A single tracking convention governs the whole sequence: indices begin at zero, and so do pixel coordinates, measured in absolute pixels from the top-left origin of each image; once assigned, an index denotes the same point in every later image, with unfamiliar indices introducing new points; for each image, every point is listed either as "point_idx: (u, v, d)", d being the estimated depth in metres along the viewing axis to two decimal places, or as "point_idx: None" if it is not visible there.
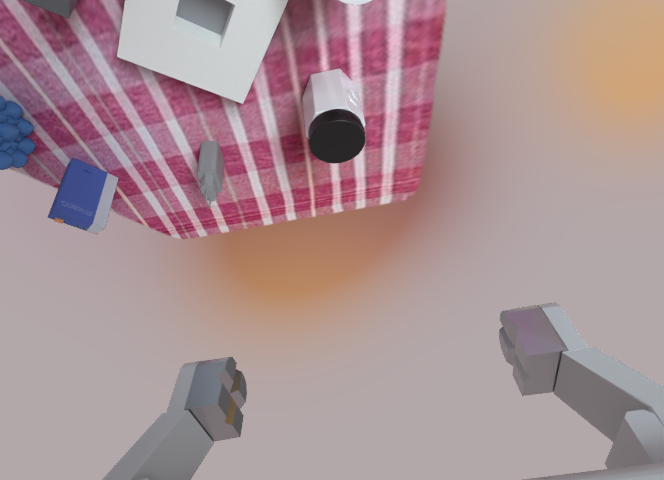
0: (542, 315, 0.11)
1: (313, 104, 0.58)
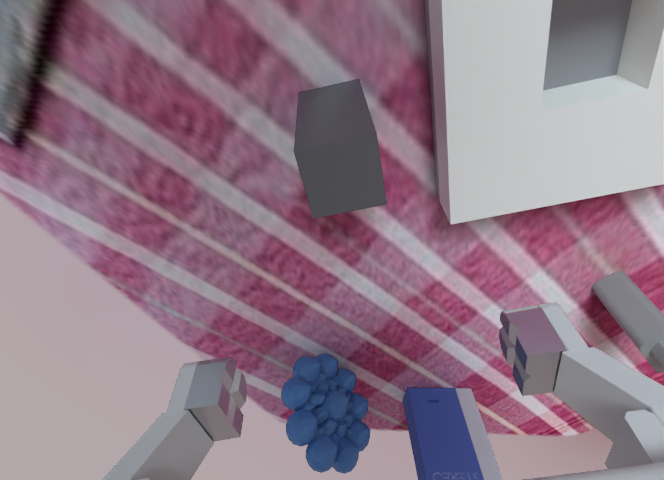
0: (542, 315, 0.11)
1: None
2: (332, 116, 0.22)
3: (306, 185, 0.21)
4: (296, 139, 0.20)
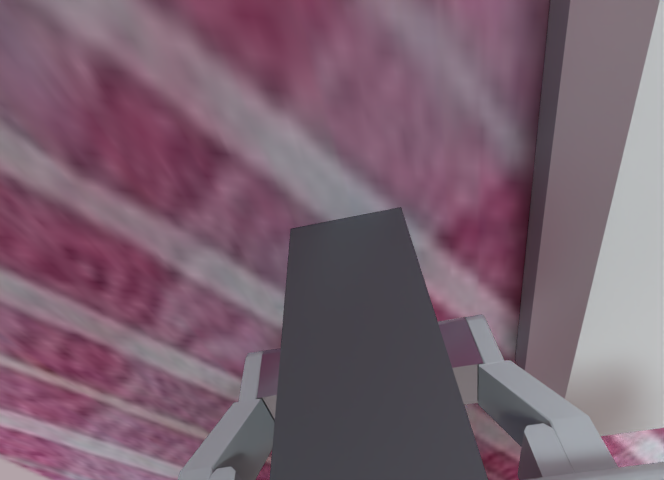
0: (466, 327, 0.11)
1: None
2: (358, 343, 0.10)
3: None
4: (277, 437, 0.08)
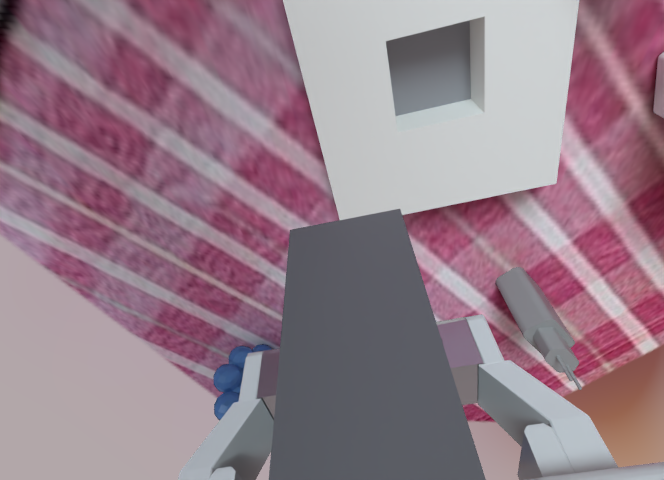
0: (466, 327, 0.11)
1: None
2: (357, 344, 0.10)
3: None
4: (276, 439, 0.09)
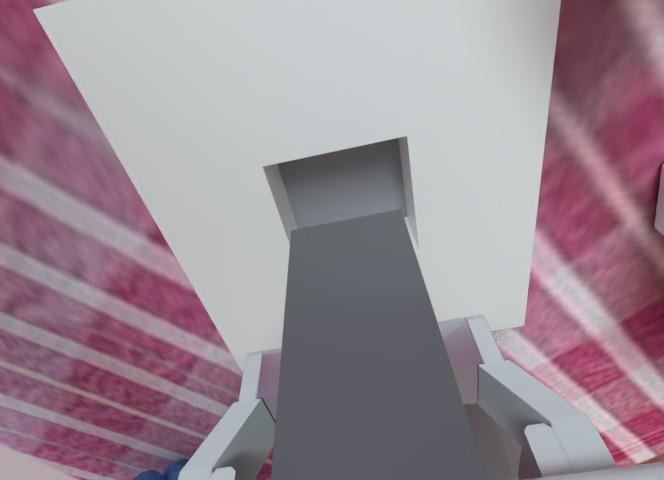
0: (466, 327, 0.11)
1: None
2: (359, 344, 0.10)
3: None
4: (277, 439, 0.09)
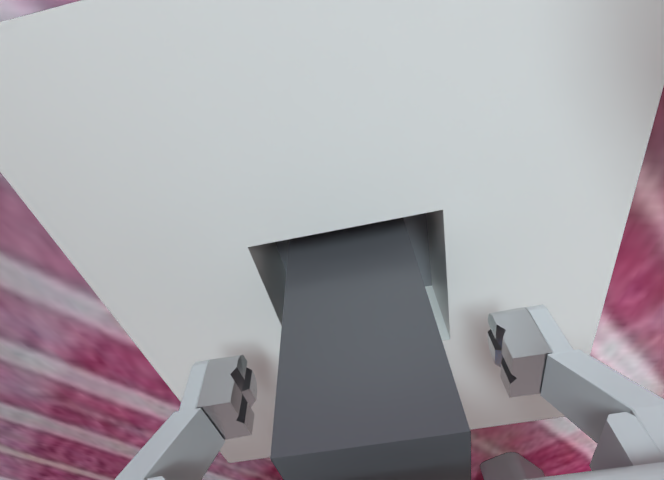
0: (529, 317, 0.11)
1: None
2: (354, 314, 0.11)
3: None
4: (279, 396, 0.09)
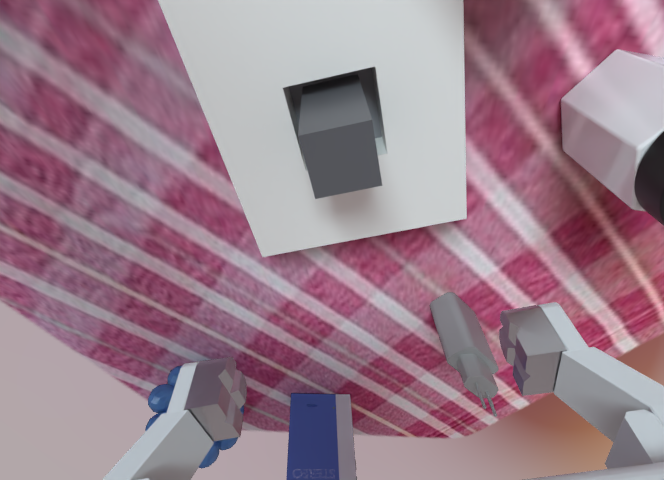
0: (542, 315, 0.11)
1: (614, 138, 0.25)
2: (332, 106, 0.24)
3: (309, 167, 0.23)
4: (300, 126, 0.23)
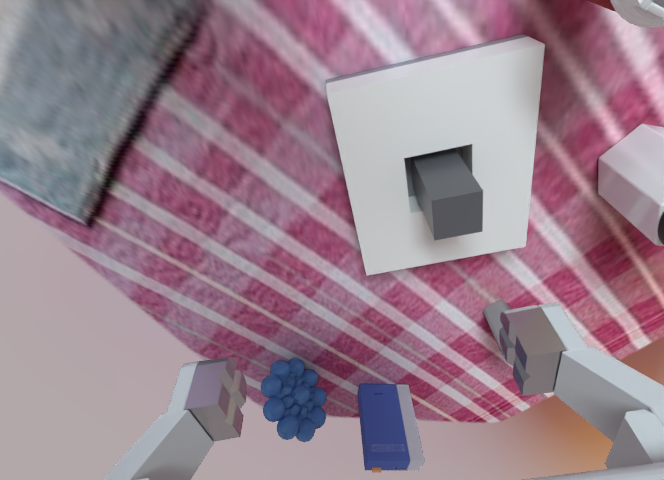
0: (542, 315, 0.11)
1: (643, 194, 0.36)
2: (445, 175, 0.34)
3: (434, 220, 0.33)
4: (428, 191, 0.33)
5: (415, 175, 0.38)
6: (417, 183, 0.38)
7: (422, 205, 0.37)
